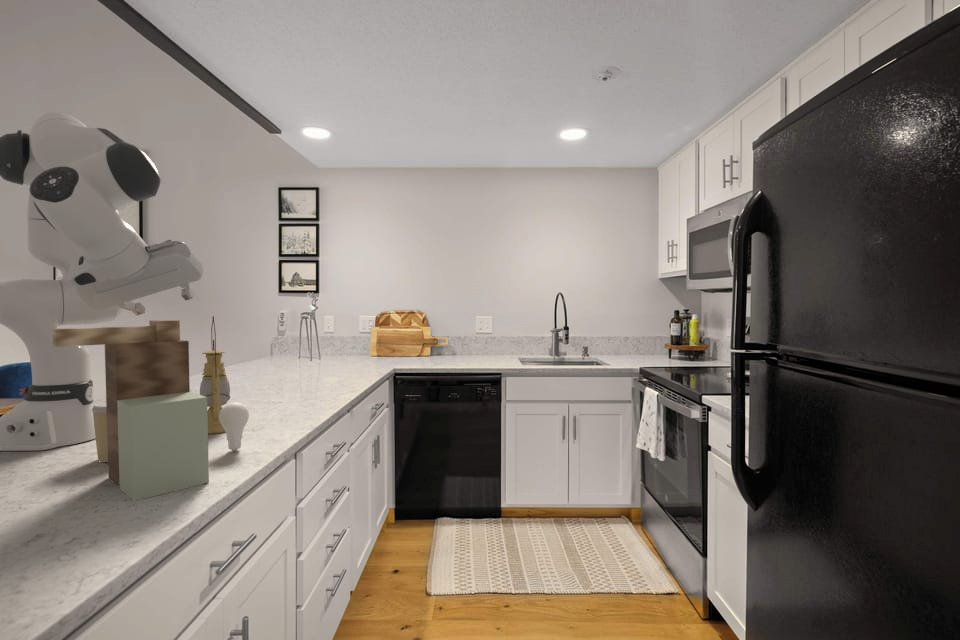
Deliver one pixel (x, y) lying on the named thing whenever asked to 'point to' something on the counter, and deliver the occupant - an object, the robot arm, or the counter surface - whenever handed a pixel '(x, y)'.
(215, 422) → the lantern
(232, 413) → the lightbulb
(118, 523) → the counter surface
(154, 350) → the walnut shelf
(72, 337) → the beech mallet
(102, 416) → the coffee cup
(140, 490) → the sage step
